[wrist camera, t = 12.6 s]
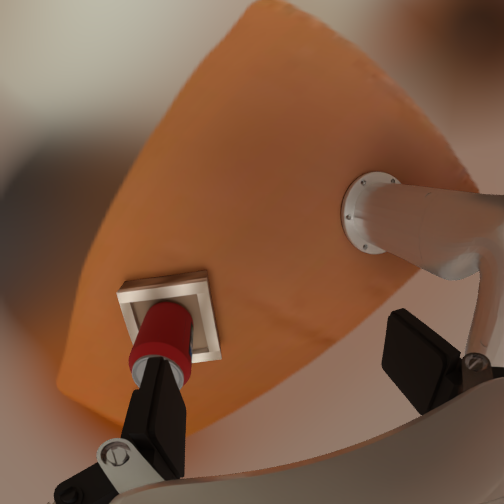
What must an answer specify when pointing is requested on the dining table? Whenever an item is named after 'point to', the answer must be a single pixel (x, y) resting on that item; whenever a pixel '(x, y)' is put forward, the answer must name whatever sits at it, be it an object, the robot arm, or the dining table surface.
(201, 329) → the white square tray
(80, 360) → the dining table surface
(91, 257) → the dining table surface
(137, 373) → the beverage can
